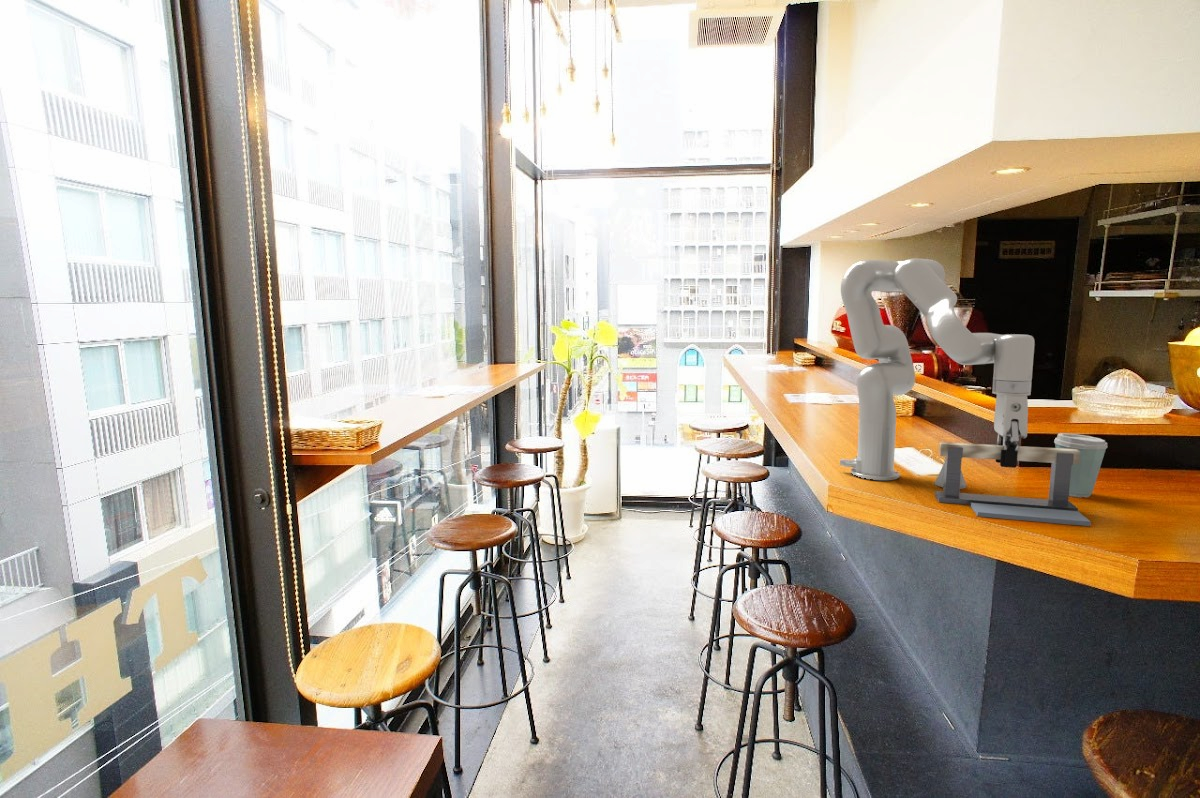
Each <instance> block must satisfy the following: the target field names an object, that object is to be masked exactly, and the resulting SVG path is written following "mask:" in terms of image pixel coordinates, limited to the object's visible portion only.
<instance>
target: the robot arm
mask: <svg viewBox="0 0 1200 798" xmlns="http://www.w3.org/2000/svg"><path fill="white" fill-rule="evenodd" d="M945 280H946V272H945V268H944V267H943V265H942V264H941V263H940V262H938V261H936V260H935V259H930V258H929V259H927V258H917V257H914V258H913V257H912V258H908V259H906V260H898V261H897V260H896V261H895V260H880V259H864V260H860V261H857V262H854V263H853V264H852V265H850V266H849V267H848V268H847V270H846V271H845V272H844V275H843V277H842V279H841V284H840V295H841V300H842V303H843V306H844V308H845V312H846V313H845V314H846V316H847V321H848V327H849V329H850V335H851V339H852V343H853V347H854V350H855V353H856V355H857V356H858V357H860V358H861V359H862V360H863V359H864V360H878V362H877V363H872V364H869V365H867V366H865V367H864V368H862V369H861V370H860V372H859V373H858V375H857V379H856V388H857V395H858V430H857V431H858V435H857V439H858V440H857V454H856V455H857V456H855V458H851V459H846V458H840V460H839V466H842V467H843V466H844V467H845V468H851V469H850V474H851V473H852V474H853V475H852V474H851V475H852V476H854V475H856V476H858V477H857V478H859V477H861V478H860V479H864V478H866V479H865V480H870V479H873V481H894V480H898V479H899V478H900V474H901V473H900V472H899V471H898V470H896V469H894V466H895V451H896V449H895V448H896V429H897V407H896V403H895V401H894V397H897V396H902V395H905V394H907V393H909V392H910V391H911V390H912V389H913V388H914V386H915V382H916V371H915V368H914V367H915V366H914V363H913V358H912V356H911V355H912V354H911V351H910V346H909V344H908V343H909V342H908V340H907V337H906V335H905V333H904V332H903V330H901V328H899V327H897V326H895V325H892V324H891V325H890V324H884V321H883V319H882V315H881V309H880V307H879V305H878V303H877V301H876V300H875V298H874V297H873V295H872V292H883V293H884V292H886V293H887V292H896V293H897V292H901V293H904V295H905V296H906V297H907V298H908V299H909V300H910V301H911V303H912V304H913V305H914V306H915V307H916V308H917V309H918V310H919V311H920V312H921V314H922V315H923V316H924V317H925V318H926V324H927V326H928V331H929V333H930V335H931V336H932V339H933V340H934V342H936V343H935V344H937V346H939V348H940V349H942V351H943V352H944V353H945V354H946V355H947V356H948V357H949V358H950V359H952V361H954V362H956V363H958V365H963V366H972V365H973V366H974V365H986V364H987V365H988V364H993V377H992V392H991V393H992V394H994V395H996V399H995V407H994V408H995V409H994V416H993V420H994V421H993V428H994V429H993V430H994V431H995V432H996V433H997V440H996V445H1003V450H1001V460H997V459H995V462H996V463H997V464H998V463H999V466H1000V467H1001V468H1011V469H1012V468H1013V469H1016V468H1017V467H1018V461H1017V455H1018V446H1019V442H1020V438H1022V439H1026V438H1027V437H1028V421H1029V420H1028V418H1029V409H1028V408H1029V405H1028V403H1029V402H1028V396H1031V392H1032V379H1033V366H1034V354H1035V338H1034V336H1033V335H1029V334H1019V333H1018V334H1015V333H1013V334H1012V333H1010V334H1009V333H1006V334H999V333H993V332H971V331H970V330H969V329H968V328H967V326H965V325H964V324H963V322H962V321H961V320H960V319H959V317H958V316H957V314H956V312H955V308H954V307H956V304H957V301H958V296H957V294H956V293H955V292H954V291H953V290H952V289H951V288H950V286H948V285H947V284H946V283H945ZM1019 437H1020V438H1019ZM856 476H855V477H856Z"/></svg>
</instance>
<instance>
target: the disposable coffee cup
mask: <svg viewBox="0 0 1200 798" xmlns="http://www.w3.org/2000/svg"><path fill="white" fill-rule="evenodd" d="M1053 443H1054V445H1055V447H1054V448H1064V449H1077V450H1079V451H1080V461H1079V464H1073V465H1072V466H1071V477H1070V488H1069V497H1074V498H1082V497H1085V498H1090V497H1089V496H1091V495H1092V494H1093V493H1094V488H1095V485H1096V482H1097V479H1098V475H1099V472H1100V469H1101V466H1102V462H1103V460H1104V456H1105V453H1106V449H1108V442H1106V440H1105V439H1102V438H1100V437H1094V436H1091V435H1084V434H1076V433H1067V432H1066V433H1064V432H1060V433H1057V436H1056V437H1055V439H1054V441H1053Z"/></svg>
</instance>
